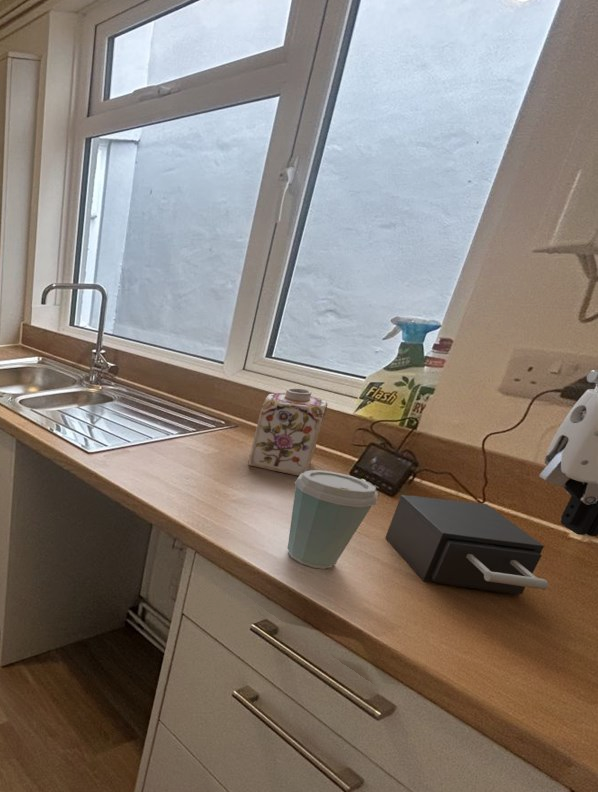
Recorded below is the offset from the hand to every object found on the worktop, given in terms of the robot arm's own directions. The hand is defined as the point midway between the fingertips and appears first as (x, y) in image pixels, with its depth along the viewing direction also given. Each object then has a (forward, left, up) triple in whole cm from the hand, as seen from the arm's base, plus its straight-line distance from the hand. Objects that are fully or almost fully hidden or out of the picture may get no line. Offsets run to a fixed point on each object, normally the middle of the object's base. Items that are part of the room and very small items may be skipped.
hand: (577, 529), depth 64 cm
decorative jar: (+15, -57, -17) cm, 61 cm away
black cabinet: (0, -18, -17) cm, 24 cm away
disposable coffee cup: (+20, -13, -17) cm, 29 cm away
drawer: (0, -13, -16) cm, 20 cm away
